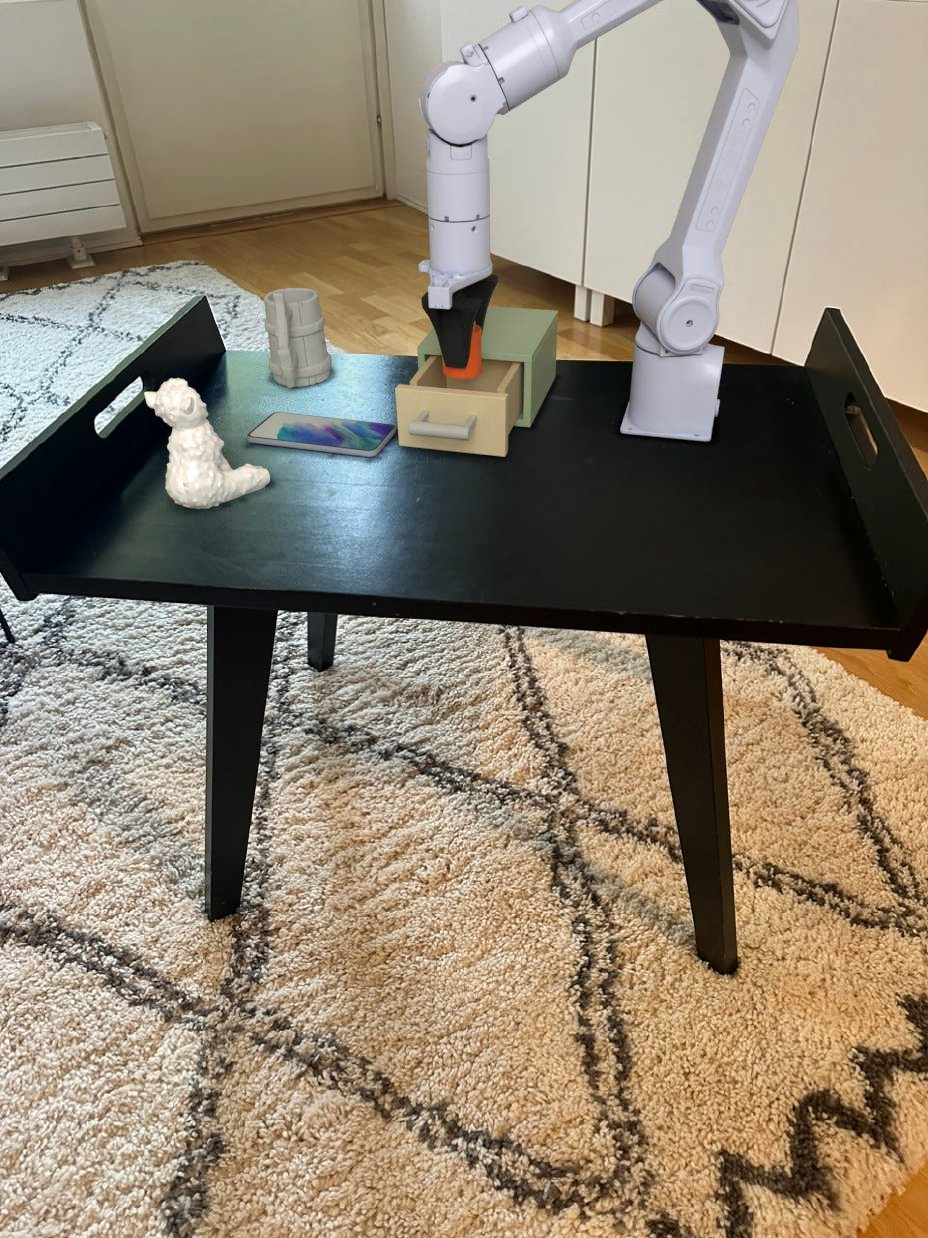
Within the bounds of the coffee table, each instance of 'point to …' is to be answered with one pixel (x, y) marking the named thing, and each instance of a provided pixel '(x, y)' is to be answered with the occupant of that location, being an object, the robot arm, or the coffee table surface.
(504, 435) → the drawer
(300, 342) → the mug
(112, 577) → the coffee table surface
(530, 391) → the cabinet
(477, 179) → the robot arm
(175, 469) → the white creature statuette
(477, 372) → the orange cylinder
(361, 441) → the smartphone
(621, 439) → the coffee table surface
